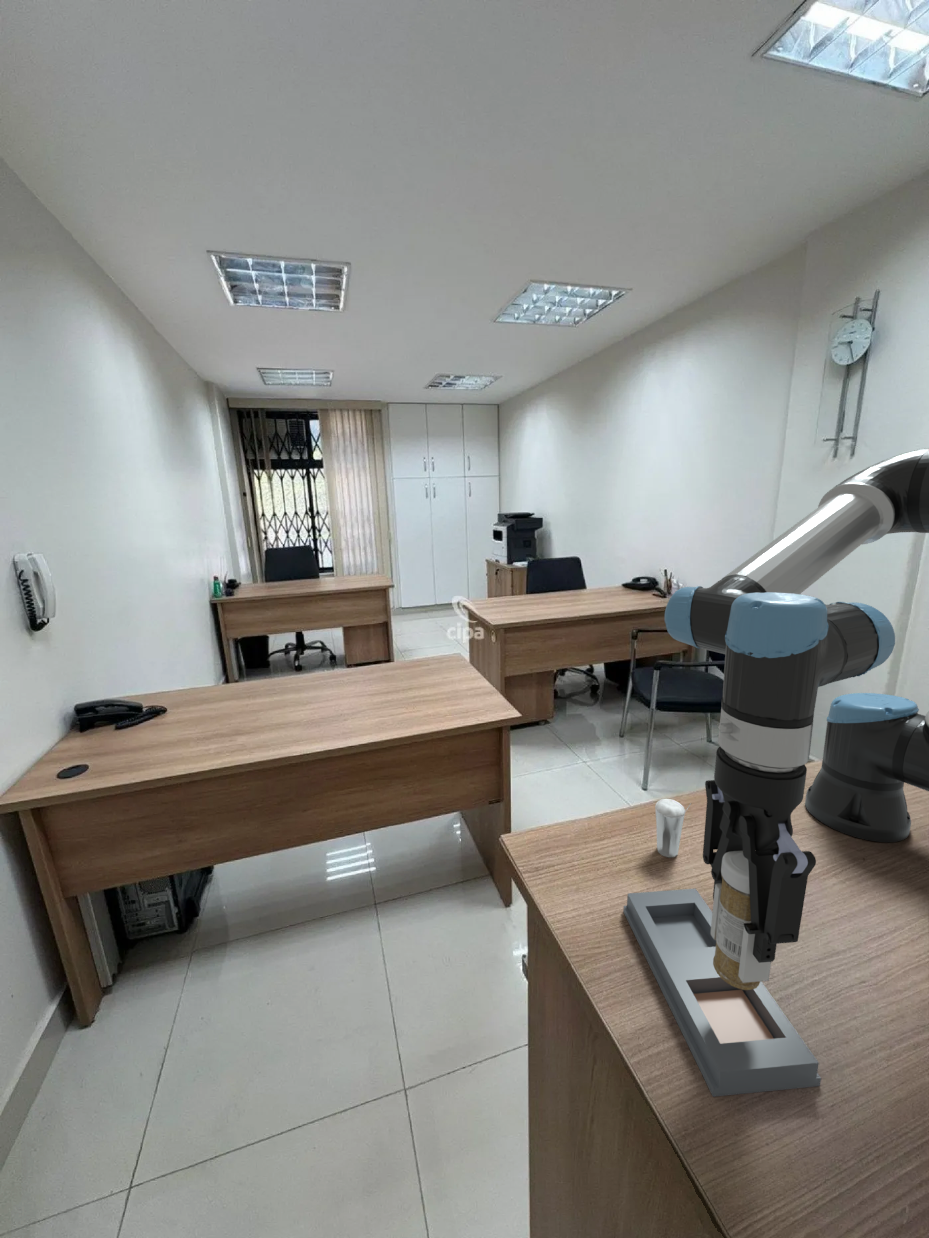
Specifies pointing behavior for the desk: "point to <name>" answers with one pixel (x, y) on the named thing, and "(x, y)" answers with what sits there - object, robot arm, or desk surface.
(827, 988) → the desk surface
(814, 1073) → the two-pocket grey tray
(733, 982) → the sprinkles bottle
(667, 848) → the milkshake
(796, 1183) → the desk surface
